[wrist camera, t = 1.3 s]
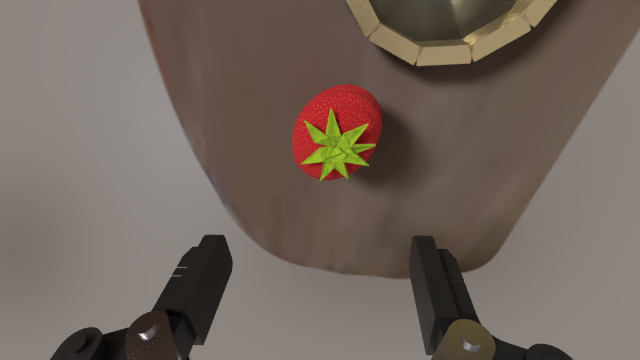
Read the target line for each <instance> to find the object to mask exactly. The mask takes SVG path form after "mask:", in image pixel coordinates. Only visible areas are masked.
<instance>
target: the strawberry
mask: <svg viewBox="0 0 640 360" xmlns="http://www.w3.org/2000/svg"><path fill="white" fill-rule="evenodd" d="M381 128H382V112H381V109H380V106H379V103H378V102H377V100H376V99H375V97H374V96H373V95H372V94H371V93H369V92H368V91H367V90H365V89H363V88H361V87H358V86H355V85H350V84H342V85H337V86H333V87H331V88H329V89H327V90H325V91H323V92H321V93H320V94H318V95H317V96H315V97H314V98H313V99H312V100H311V101H310V102H309V103H307V105H306V106H305V107H304V108H303V110H302V111H301V112H300V114H299V116H298V118H297V120H296V123H295V126H294V129H293V135H292V146H293V155H294V158H295V161H296V163H297V164H298V166H299V167H300V169H301V170H302V171H303V172H305V173H306V174H307V175H309V176H311V177H313V178H316V179H320V181H321V180H333V179H339V178H342V177H346V178H347V179H348V180H349V176H348V175H349V174H351V173H353V172H355V171H356V170H357V169H359V168H360V167H361V166H362V165H365V166H369V164H368V163H366V161H367V160H368V159H369V158H370V156H371V155H372V154H373V152H374V150H375V148H376V146H377V144H378V141H379V137H380V133H381Z"/></svg>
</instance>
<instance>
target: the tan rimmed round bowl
mask: <svg viewBox="0 0 640 360" xmlns="http://www.w3.org/2000/svg"><path fill="white" fill-rule="evenodd" d="M556 1H557V0H345V2H346V4H347V7H348V9H349V11H350V12H351V14H352V15H353V17H354V19H355V20H356V22H357V23H358V24H359V26H360V28H361V29H362V31H363V33H364V35H365V37H368V40H369V41H371V42H373V43H374V44H376V45H378V46H380V47H382V48H383V49H385V50H387V51H389V52H390V53H392V54H394V55H396V56H397V57H399V58H401V59H403V60H405V61H406V62H408V63H410V64H412V65H414V63H415V65H416V66H428V65H448V64H468V63H471V60H472V61H473V62H475V61H477V60H479V59H481V58H483V57H484V56H486V55H488V54H490V53H492V52H493V51H495V50H497V49H499V48H501V47H502V46H504V45H506V44H508V43H509V42H511V41H513V40H515V39H517V38H518V37H520V36H522V35H524V34H526V33H527V32H529V31H531V29H530V26H532V27H535V26H536V25H537V24H538V23H539V22H540V20H541V19H542V18H543V17H544V15H545V14H546V13H547V12H548V11H549V9H550V8H551V7H552V6H553V5H554V3H555V2H556Z"/></svg>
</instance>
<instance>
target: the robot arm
mask: <svg viewBox="0 0 640 360" xmlns="http://www.w3.org/2000/svg"><path fill="white" fill-rule="evenodd" d="M232 264H233V262H232V257H231V254H230V251H229V248H228V245H227V242H226V239H225V237H224V235H205V236H204V237H203V238H202V240H201V242H200V244H199V246H198V247H192V248H191V249H190V250H189V251H188V252H187V253H186V254H185V255H184V256H183V257H182V259H181V261H180V262H179V264H178V266H177V268H176V269H175V271H174V273H173V274H172V277H171V278H170V280H169V282H168V283H167V285H166V287H165V288H164V290H163V292H162V293H161V295H160V297H159V299H158V301H157V302H156V304H155V306H154V308H153V309H152V311H150V312H147V313H145V314H143V315H141V316H140V317H138V318H137V319H136V320H135V321H134V322H133V323H132V324H131V325H130V327H128V328H125V329H121V330H118V331H114V332H111V333H107V334H102V332H101V331H100V330H99V329H97V328H95V327H89V328H84V329H81V330H79V331H78V332H75V333H74V334H72V335H71V336H70V337H68V338H67V339H66V340H65V341H64V342H63V343H62V344H61V345H60V346H59V348H58V349H57V351H56V352H55V353H54V355H53V356H52V358H51V359H50V360H192V359H191V356H190V351H191V348H192V346H193V345H204V342H205V340H206V337H207V335H208V332H209V329H210V327H211V324H212V322H213V319H214V316H215V314H216V311H217V309H218V306H219V303H220V301H221V298H222V295H223V293H224V290H225V287H226V285H227V282H228V280H229V277H230V275H231V272H232ZM409 272H410V279H411V283H412V288H413V293H414V298H415V303H416V308H417V312H418V318H419V323H420V327H421V332H422V337H423V342H424V346H425V351H426V355H433V357H432V359H431V360H573V359H572V358H571V357H569V356H568V355H567V354H566V353H564V352H563V351H561V350H560V349H558V348H556V347H553V346H551V345H547V344H535V345H533V346H531V347H530V348H529V349H525V348H521V347H518V346H515V345H512V344H509V343H506V342H504V341H501V340H499V339H497V338H496V337H494V336H493V335H491V334H490V333H489V331H488V330H487V329H486V328H485V327H483V326H482V325H481V323H480V321H479V320H478V317H477V315H476V312H475V310H474V307H473V304H472V301H471V298H470V296H469V293H468V291H467V288H466V285H465V283H464V280H463V277H462V274H461V273H460V269H459V266H458V264H457V261H456V259H455V258H454V257H453V256H452V254H451V253H450V252H449V251H448V250H447V249H437V248H436V244H435V241H434V238H433V237H432V236H413V238H412V244H411V251H410V259H409Z"/></svg>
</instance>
